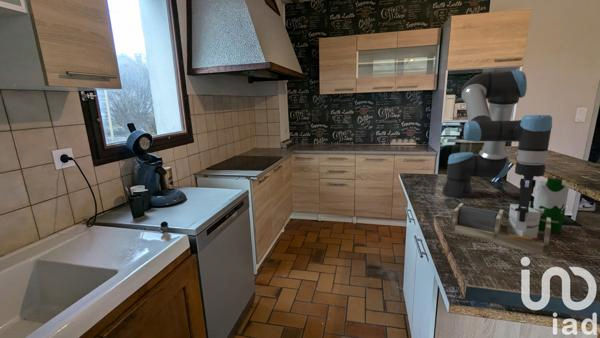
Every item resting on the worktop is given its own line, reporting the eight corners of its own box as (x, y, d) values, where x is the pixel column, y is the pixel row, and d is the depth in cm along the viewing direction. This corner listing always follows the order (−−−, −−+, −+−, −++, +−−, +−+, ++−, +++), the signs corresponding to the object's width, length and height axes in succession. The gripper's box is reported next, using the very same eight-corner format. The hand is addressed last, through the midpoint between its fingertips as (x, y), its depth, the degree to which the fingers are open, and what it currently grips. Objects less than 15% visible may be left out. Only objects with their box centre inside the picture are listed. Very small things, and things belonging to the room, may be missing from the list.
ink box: (537, 246, 90) (542, 212, 88) (520, 245, 91) (525, 211, 88) (520, 234, 98) (525, 203, 96) (505, 234, 99) (509, 203, 97)
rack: (459, 223, 112) (460, 202, 110) (546, 242, 94) (550, 217, 93) (451, 233, 103) (453, 210, 102) (546, 256, 86) (550, 229, 84)
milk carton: (533, 230, 104) (540, 179, 100) (528, 222, 112) (535, 174, 108) (564, 234, 100) (573, 181, 96) (557, 226, 107) (565, 176, 103)
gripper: (519, 156, 101) (512, 211, 105) (512, 167, 83) (504, 233, 87) (546, 158, 96) (537, 215, 100) (545, 170, 78) (534, 239, 82)
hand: (522, 223), depth 94 cm, fingers open, 13 cm apart
